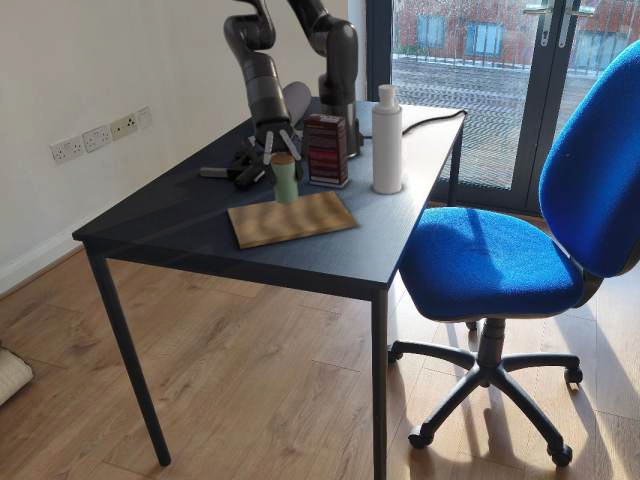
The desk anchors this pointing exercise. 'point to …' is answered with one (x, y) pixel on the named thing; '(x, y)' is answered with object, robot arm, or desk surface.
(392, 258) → the desk surface
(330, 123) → the supplement box
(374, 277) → the desk surface
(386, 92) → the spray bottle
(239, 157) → the door handle
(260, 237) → the oak board
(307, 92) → the bluetooth speaker
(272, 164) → the salt pot
